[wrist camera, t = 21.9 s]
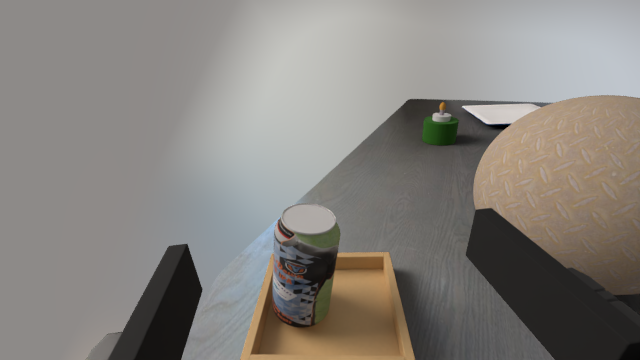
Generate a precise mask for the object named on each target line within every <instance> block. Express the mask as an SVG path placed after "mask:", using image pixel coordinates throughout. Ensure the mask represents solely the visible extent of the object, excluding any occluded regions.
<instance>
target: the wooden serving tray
mask: <svg viewBox="0 0 640 360" xmlns="http://www.w3.org/2000/svg"><path fill="white" fill-rule="evenodd" d="M273 259H274V254H272V255H271V258H270V262H269V265H268V268H267V272H266V275H265V278H264V282H263V285H262V288H261V292H260V295H259V298H258V302H257V305H256V308H255V312H254V315H253V318H252V322H251V325H250V328H249V332H248V335H247V338H246V342H245V345H244V349H243V352H242V355H241V359H240V360H415V357H414V352H413V348H412V344H411V340H410V336H409V332H408V328H407V324H406V319H405V315H404V311H403V307H402V303H401V299H400V295H399V291H398V286H397V282H396V278H395V274H394V270H393V266H392V262H391V258H390V253H389V252H383V253H382V252H365V253H337V260H336V266H335V273H334V279H333V286H332V292H331V299H330V306H329V310H328V313H327V315H326V316H325V318H324V319H323V320H322V321H320V322H319V323H318V324H316V325H314V326H310V327H305V328H297V327H292V326H289V325H287V324H285V323H283V322H282V321H281V320H280V319H279V318H278V317H277V316H276V315H275V313H274V311H273V307H272V291H273Z"/></svg>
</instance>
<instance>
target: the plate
mask: <svg viewBox="0 0 640 360" xmlns="http://www.w3.org/2000/svg"><path fill="white" fill-rule="evenodd" d="M462 108H463V109H465V110H466V111H468V112H469V113H471V114H472V115H473V116H475V117H476V118H478V119H479V120H480V121H482V122H483V123H485V124H486V125H511V124H512V123H514V122H515V121H516V120H518V119H520V118H521V117H523V116H525V115H527V114H528V113H530V112H533V111H535V110H537V109H539V108H540V107H538V106H535V105H533V104H506V105H477V106H462Z"/></svg>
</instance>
